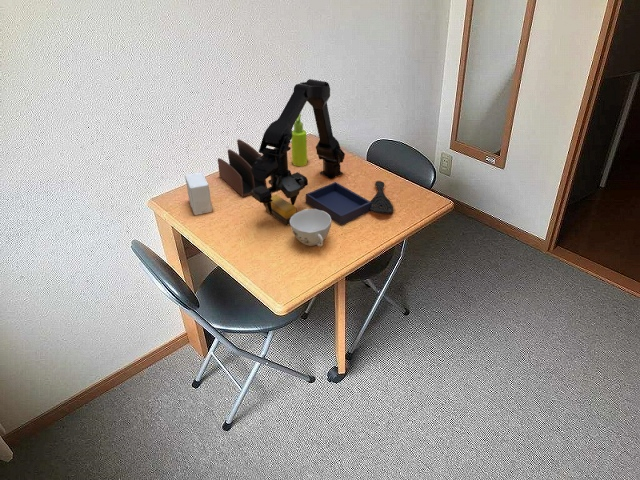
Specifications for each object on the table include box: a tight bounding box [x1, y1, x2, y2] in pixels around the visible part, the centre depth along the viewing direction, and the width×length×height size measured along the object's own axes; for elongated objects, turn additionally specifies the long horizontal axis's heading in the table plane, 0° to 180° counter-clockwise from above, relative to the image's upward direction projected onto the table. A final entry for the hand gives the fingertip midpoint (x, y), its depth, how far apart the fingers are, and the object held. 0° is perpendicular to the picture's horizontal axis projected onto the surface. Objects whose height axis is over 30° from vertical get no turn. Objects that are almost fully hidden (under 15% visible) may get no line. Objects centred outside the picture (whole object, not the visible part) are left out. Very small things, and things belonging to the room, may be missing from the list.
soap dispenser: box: [290, 113, 308, 167], centre depth 189 cm, size 6×7×20 cm
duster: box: [265, 194, 297, 227], centre depth 161 cm, size 12×5×5 cm, turn 39°
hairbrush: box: [369, 180, 394, 215], centre depth 169 cm, size 8×4×25 cm
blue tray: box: [305, 181, 373, 226], centre depth 166 cm, size 19×14×4 cm
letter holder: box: [217, 138, 268, 198], centre depth 178 cm, size 10×20×14 cm, turn 34°
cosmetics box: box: [184, 171, 213, 216], centre depth 165 cm, size 10×6×10 cm, turn 23°
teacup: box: [289, 208, 332, 247], centre depth 148 cm, size 15×12×8 cm
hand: (281, 209), depth 162 cm, fingers open, 9 cm apart
